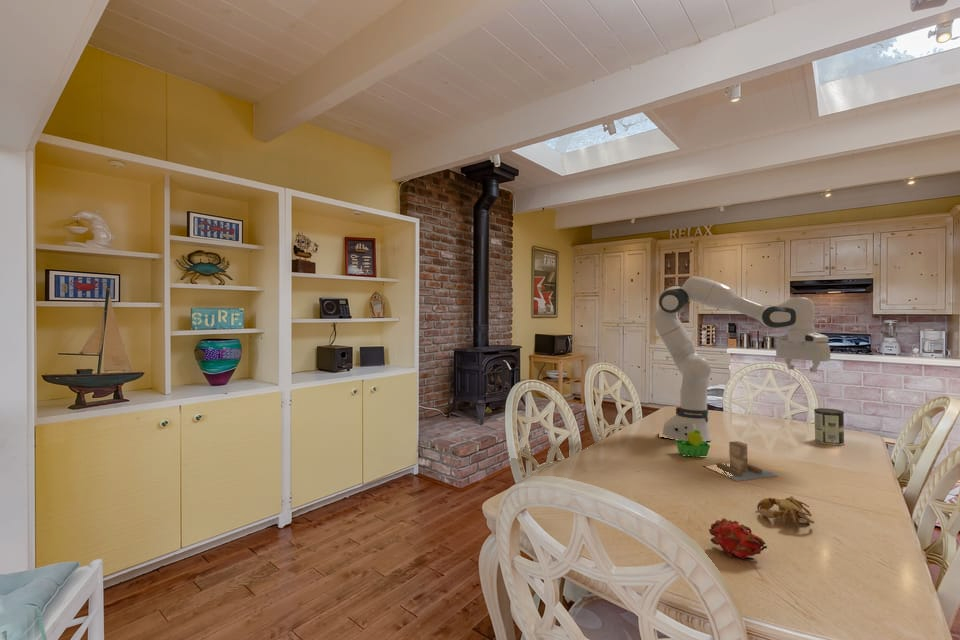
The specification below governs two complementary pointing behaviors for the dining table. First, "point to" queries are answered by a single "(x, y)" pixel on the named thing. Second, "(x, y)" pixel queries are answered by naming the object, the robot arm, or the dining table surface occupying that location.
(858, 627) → the dining table surface
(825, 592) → the dining table surface
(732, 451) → the card block
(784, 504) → the crab model
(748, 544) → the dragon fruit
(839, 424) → the coffee can
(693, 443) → the fruit basket
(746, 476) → the mat
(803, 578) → the dining table surface
